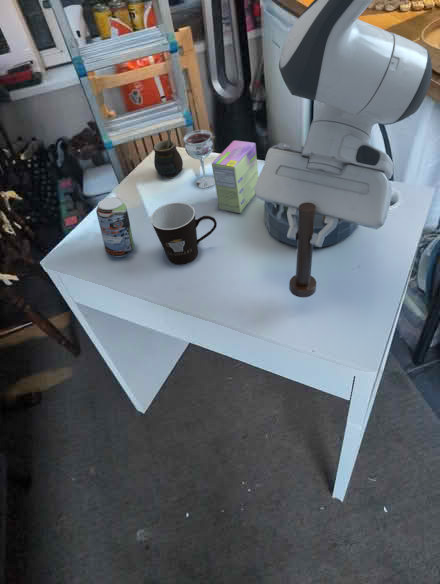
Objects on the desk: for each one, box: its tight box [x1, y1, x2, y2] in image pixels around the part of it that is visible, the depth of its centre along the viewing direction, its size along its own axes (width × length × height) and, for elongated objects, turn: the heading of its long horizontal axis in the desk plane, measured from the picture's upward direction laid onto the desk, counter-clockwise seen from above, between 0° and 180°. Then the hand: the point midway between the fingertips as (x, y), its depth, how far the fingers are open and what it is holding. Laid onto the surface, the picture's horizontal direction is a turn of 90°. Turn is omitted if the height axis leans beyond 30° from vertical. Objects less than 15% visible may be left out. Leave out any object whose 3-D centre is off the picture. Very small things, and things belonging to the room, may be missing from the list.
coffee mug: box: [150, 201, 218, 266], centre depth 86 cm, size 12×9×10 cm
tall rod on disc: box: [288, 202, 317, 299], centre depth 68 cm, size 4×4×16 cm
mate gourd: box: [152, 129, 184, 179], centre depth 109 cm, size 7×8×10 cm
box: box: [211, 140, 259, 214], centre depth 97 cm, size 10×6×12 cm, turn 152°
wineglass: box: [182, 129, 215, 189], centre depth 103 cm, size 7×7×12 cm
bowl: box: [263, 201, 358, 248], centre depth 90 cm, size 19×19×6 cm
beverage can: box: [95, 196, 135, 258], centre depth 89 cm, size 6×7×12 cm
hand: (303, 242), depth 66 cm, fingers closed on tall rod on disc, 2 cm apart
